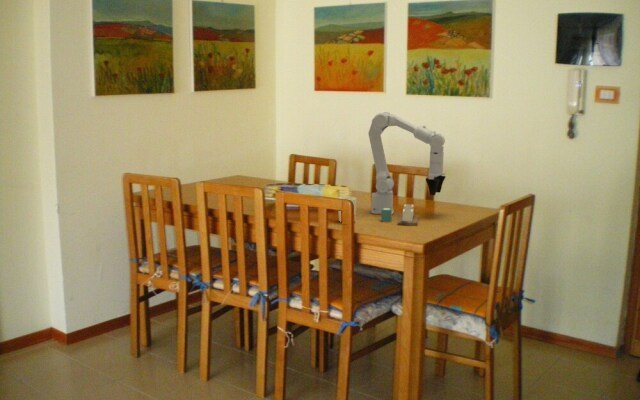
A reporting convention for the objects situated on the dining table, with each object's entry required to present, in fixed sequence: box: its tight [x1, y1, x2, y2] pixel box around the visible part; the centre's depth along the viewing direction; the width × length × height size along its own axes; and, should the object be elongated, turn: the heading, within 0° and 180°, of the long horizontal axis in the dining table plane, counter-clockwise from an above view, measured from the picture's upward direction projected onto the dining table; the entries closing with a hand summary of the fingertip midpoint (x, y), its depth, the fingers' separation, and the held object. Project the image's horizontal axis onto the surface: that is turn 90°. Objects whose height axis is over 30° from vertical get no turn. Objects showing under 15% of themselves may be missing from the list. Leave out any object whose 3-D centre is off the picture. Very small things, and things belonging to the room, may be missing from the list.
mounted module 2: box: [402, 208, 414, 221], centre depth 282 cm, size 4×4×4 cm
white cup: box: [337, 196, 358, 223], centre depth 286 cm, size 8×8×10 cm
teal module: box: [380, 208, 393, 223], centre depth 289 cm, size 4×4×5 cm
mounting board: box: [396, 214, 419, 227], centre depth 288 cm, size 8×16×2 cm, turn 171°
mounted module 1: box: [403, 203, 415, 213], centre depth 293 cm, size 4×4×4 cm
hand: (435, 193), depth 297 cm, fingers open, 7 cm apart
